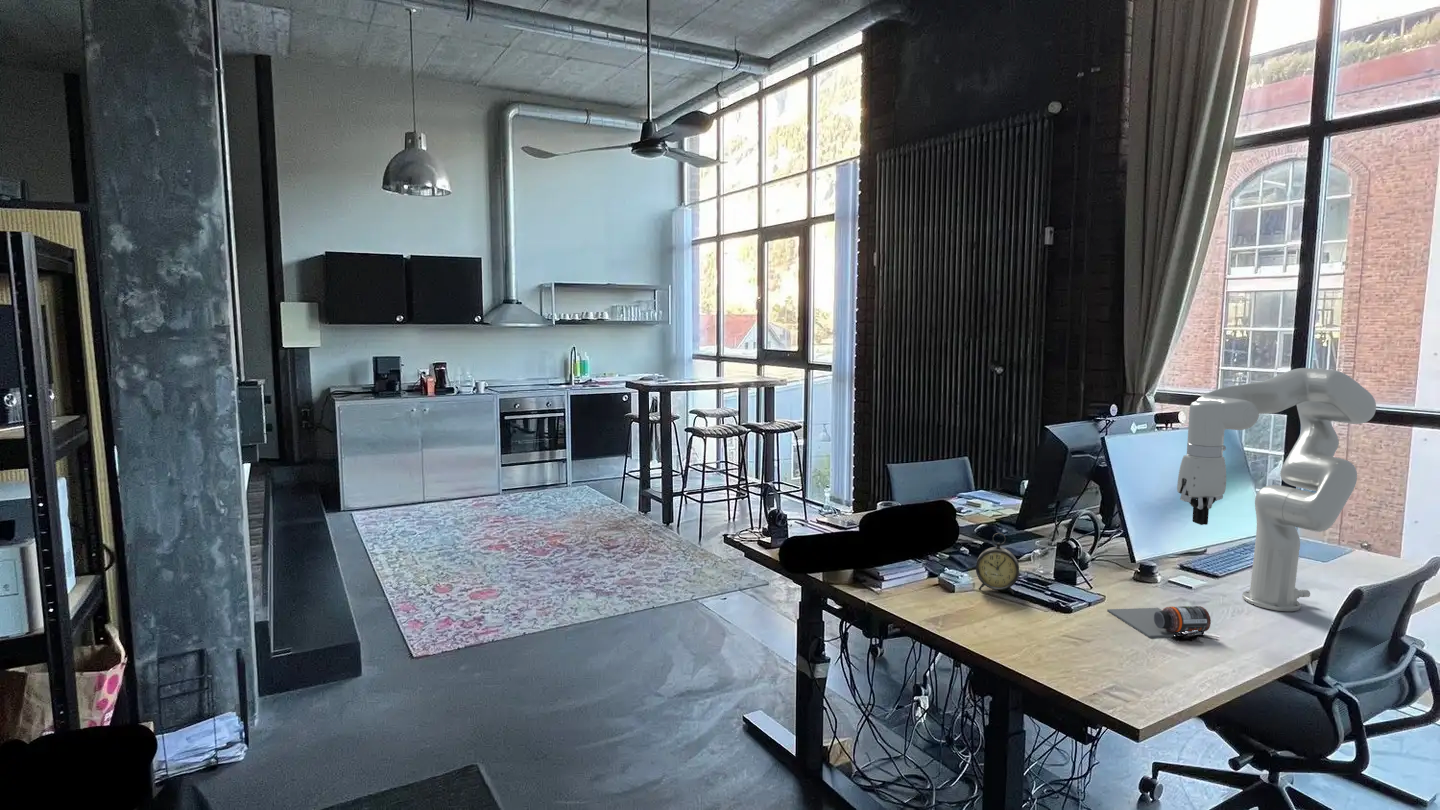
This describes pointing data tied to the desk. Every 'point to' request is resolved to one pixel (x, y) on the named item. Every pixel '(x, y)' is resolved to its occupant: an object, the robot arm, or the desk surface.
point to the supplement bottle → (1183, 619)
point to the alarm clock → (997, 568)
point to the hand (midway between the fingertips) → (1200, 523)
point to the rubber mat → (1141, 621)
